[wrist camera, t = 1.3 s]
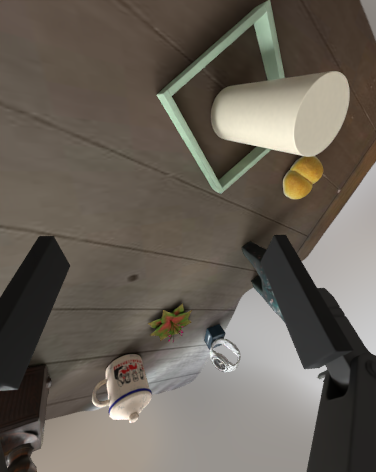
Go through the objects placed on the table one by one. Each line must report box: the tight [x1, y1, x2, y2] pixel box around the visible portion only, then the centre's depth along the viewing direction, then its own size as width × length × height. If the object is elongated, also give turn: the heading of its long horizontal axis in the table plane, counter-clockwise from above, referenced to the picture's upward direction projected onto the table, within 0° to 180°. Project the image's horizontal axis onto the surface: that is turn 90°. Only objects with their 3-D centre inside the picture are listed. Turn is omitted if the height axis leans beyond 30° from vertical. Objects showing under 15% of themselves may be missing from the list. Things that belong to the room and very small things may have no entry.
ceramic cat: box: [242, 241, 285, 322], centre depth 46 cm, size 20×6×20 cm, turn 24°
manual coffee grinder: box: [0, 365, 52, 472], centre depth 31 cm, size 16×11×18 cm
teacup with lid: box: [92, 354, 152, 423], centre depth 45 cm, size 12×9×12 cm
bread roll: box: [283, 156, 323, 199], centre depth 42 cm, size 8×9×4 cm
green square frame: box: [157, 0, 285, 194], centre depth 30 cm, size 17×17×2 cm
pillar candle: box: [211, 71, 350, 157], centre depth 25 cm, size 7×7×15 cm
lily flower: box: [148, 304, 192, 342], centre depth 48 cm, size 12×12×5 cm
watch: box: [204, 324, 241, 372], centre depth 57 cm, size 6×8×11 cm
